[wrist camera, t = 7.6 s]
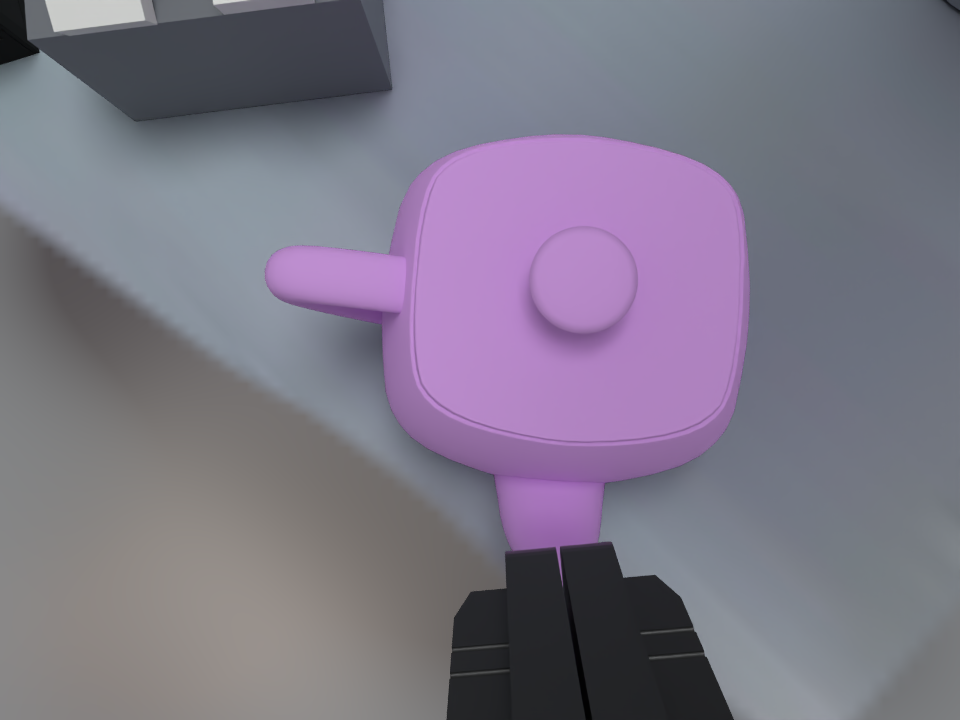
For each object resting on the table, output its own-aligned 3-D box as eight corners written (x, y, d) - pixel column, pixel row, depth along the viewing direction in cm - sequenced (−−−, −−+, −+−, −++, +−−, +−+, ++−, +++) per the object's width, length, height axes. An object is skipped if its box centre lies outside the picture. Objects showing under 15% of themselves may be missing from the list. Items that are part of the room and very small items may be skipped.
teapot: (344, 166, 39) (245, 21, 24) (716, 187, 38) (855, 53, 23) (310, 569, 38) (185, 682, 23) (694, 599, 37) (825, 738, 22)
